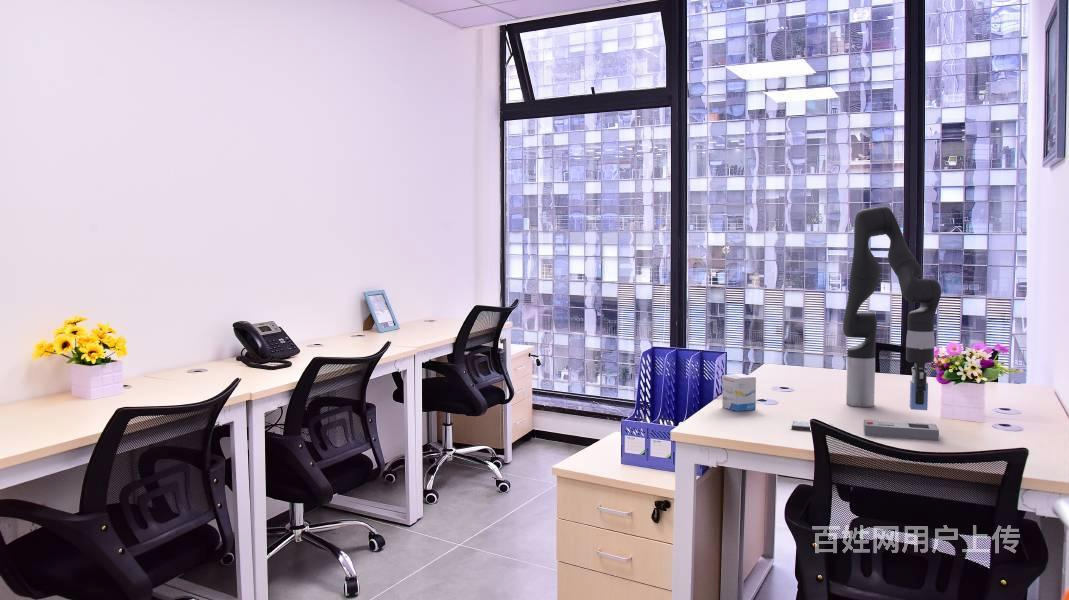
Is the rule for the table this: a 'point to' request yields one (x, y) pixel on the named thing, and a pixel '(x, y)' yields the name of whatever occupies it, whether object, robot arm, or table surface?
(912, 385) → the block
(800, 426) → the phone slab
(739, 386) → the ink box
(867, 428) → the power strip
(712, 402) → the table surface
